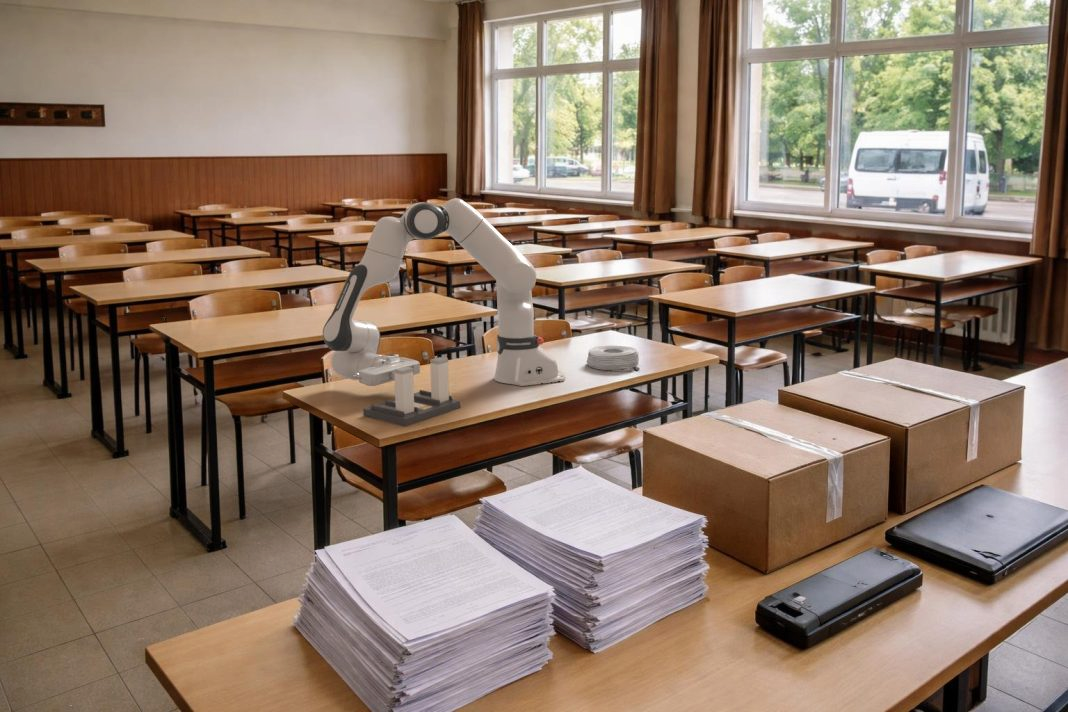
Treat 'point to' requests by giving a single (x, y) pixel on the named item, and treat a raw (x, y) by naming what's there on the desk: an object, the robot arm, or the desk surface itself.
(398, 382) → the white rectangular block
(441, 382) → the tall white block
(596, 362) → the cable
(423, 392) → the fixture base
